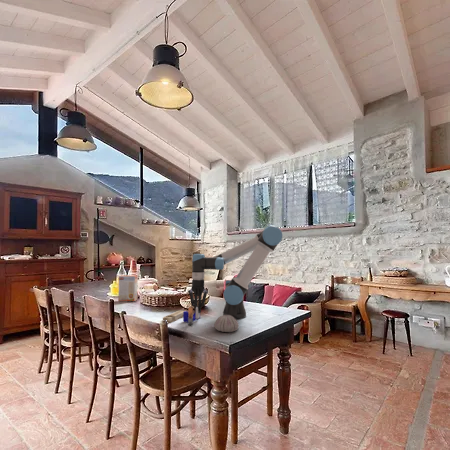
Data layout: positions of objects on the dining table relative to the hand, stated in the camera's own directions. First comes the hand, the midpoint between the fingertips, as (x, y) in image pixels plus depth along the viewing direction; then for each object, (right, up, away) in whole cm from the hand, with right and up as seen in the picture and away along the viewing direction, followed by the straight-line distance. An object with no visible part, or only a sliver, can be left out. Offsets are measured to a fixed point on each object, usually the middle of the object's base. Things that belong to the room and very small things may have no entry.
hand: (197, 318), depth 179 cm
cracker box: (-64, -6, +63) cm, 90 cm away
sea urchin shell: (+18, -1, -19) cm, 26 cm away
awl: (-3, -1, -9) cm, 10 cm away
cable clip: (-3, -2, +2) cm, 4 cm away
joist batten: (-15, -2, +4) cm, 15 cm away
